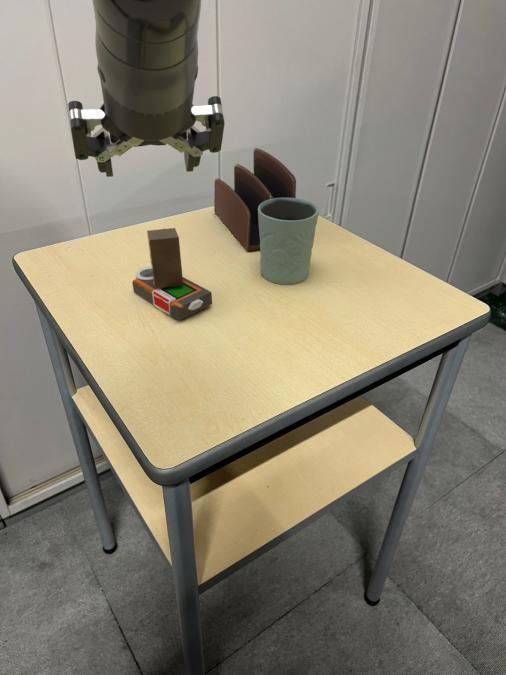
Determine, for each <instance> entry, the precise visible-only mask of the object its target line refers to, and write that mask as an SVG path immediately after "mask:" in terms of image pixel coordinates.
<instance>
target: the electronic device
mask: <svg viewBox="0 0 506 675" xmlns="http://www.w3.org/2000/svg"><path fill="white" fill-rule="evenodd" d="M134 276H135V278H134V279H133V280H132V282H131V283H132V284H131V285H132V289H133V293H134V294H136V295H138V296H139V297H141V298H142V299H144V300H146V301H147V302H149V303H151V304H152V305H153V307H155V308H156V309H158V310H160V311H161V312H163V313H165V314H167V315H168V316H170V317H173V318H175V319H177V320H179V321H180V320H183V319H184V318H186V317H189V316H191V315H193V314H194V313H197V312H199V311H201V310H203V309H205V308H207V307H209V306H211V305H213V296H212V294H213V293H212V291H210V290H209V289H207V288H204V287H203V286H201V285H200V284H199V285H198V284H197V283H195V282H193V281H191V280H190V279H188V278H186V277H184V276H182V277H183V285H182V286H173V287H165V288H157V289H155V285H154V281H153V275H152V267H151V266H145V267H142V268H139V269H137V271H135V273H134Z"/></svg>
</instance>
